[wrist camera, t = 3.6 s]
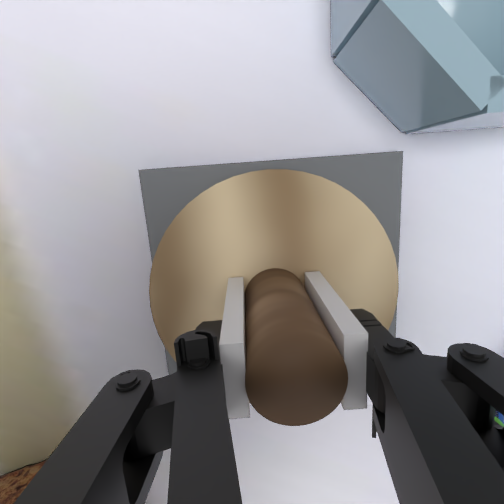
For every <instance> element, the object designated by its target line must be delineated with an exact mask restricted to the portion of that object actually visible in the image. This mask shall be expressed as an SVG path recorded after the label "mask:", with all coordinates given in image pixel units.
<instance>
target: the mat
mask: <svg viewBox="0 0 504 504" xmlns="http://www.w3.org/2000/svg"><path fill="white" fill-rule="evenodd" d="M402 163H403V151H398V152H384V153H370V154H356V155H342V156H328V157H314V158H300V159H286V160H272V161H258V162H244V163H230V164H216V165H202V166H188V167H174V168H160V169H146V170H139V177H140V183H141V190H142V197H143V203H144V210H145V217H146V224H147V230H148V237H149V244H150V251H151V257H152V264H153V259H154V256H155V254H156V251H157V248H158V245H159V243H160V241H161V239H162V237H163V235H164V233H165V231H166V230H167V228H168V227H169V225H170V224H171V223H172V221H173V220H174V218H175V217H176V216H177V215H178V214H179V213H180V212H181V210H182V209H183V208H184V207H185V206H186V205H187V204H188V203H189V202H191V201H192V200H193V199H194V198H196V197H197V196H198V195H199V194H201V193H202V192H204V191H205V190H207V189H209V188H210V187H212V186H214V185H215V184H217V183H219V182H222V181H224V180H226V179H229V178H231V177H233V176H237V175H241V174H244V173H248V172H252V171H260V170H267V169H287V170H295V171H302V172H306V173H310V174H314V175H317V176H321V177H323V178H325V179H328V180H330V181H332V182H334V183H337V184H338V185H340V186H342V187H343V188H345V189H346V190H348V191H350V192H351V193H352V194H354V195H355V196H356V197H357V198H358V199H360V200H361V201H362V202H363V203H364V204H365V205H366V206H367V207H368V208H369V209H370V210H371V211H372V213H373V214H374V215H375V216H376V218H377V219H378V221H379V222H380V224H381V225H382V226H383V228H384V230H385V232H386V234H387V236H388V238H389V240H390V242H391V245H392V248H393V251H394V255H395V258H396V264H397V270H398V262H399V237H400V212H401V188H402ZM396 311H397V305H396V309H395V313H394V317H393V320H392V322H391V325H390V327H389V330H388V331H389V332H390V333H391V335H392V336H393V337H394V338H395V336H396ZM165 352H166V358H167V365H168V372H169V375H171V374H173V373H175V372H176V371H177V363H176V361H175V360H174V359H173V358H172V356H171V355H170V353H169V352H168V351H167V349H166V348H165Z"/></svg>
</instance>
